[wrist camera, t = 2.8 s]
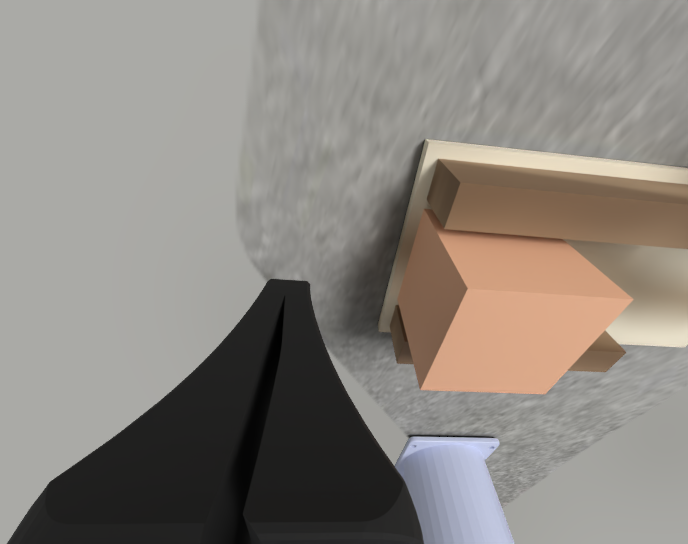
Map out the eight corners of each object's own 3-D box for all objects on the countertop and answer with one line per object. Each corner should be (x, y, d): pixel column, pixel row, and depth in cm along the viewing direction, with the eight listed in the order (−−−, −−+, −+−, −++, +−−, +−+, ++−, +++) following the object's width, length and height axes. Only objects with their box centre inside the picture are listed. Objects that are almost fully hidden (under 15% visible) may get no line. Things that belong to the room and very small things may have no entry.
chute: (575, 335, 17) (605, 371, 15) (389, 326, 16) (396, 363, 14) (704, 186, 12) (775, 213, 10) (438, 158, 11) (460, 182, 9)
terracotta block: (490, 305, 16) (545, 394, 12) (397, 299, 15) (420, 389, 11) (538, 218, 13) (633, 299, 9) (423, 208, 12) (467, 288, 8)
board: (676, 340, 19) (684, 347, 18) (377, 325, 17) (378, 331, 17) (859, 186, 13) (876, 191, 12) (425, 138, 11) (428, 142, 11)
